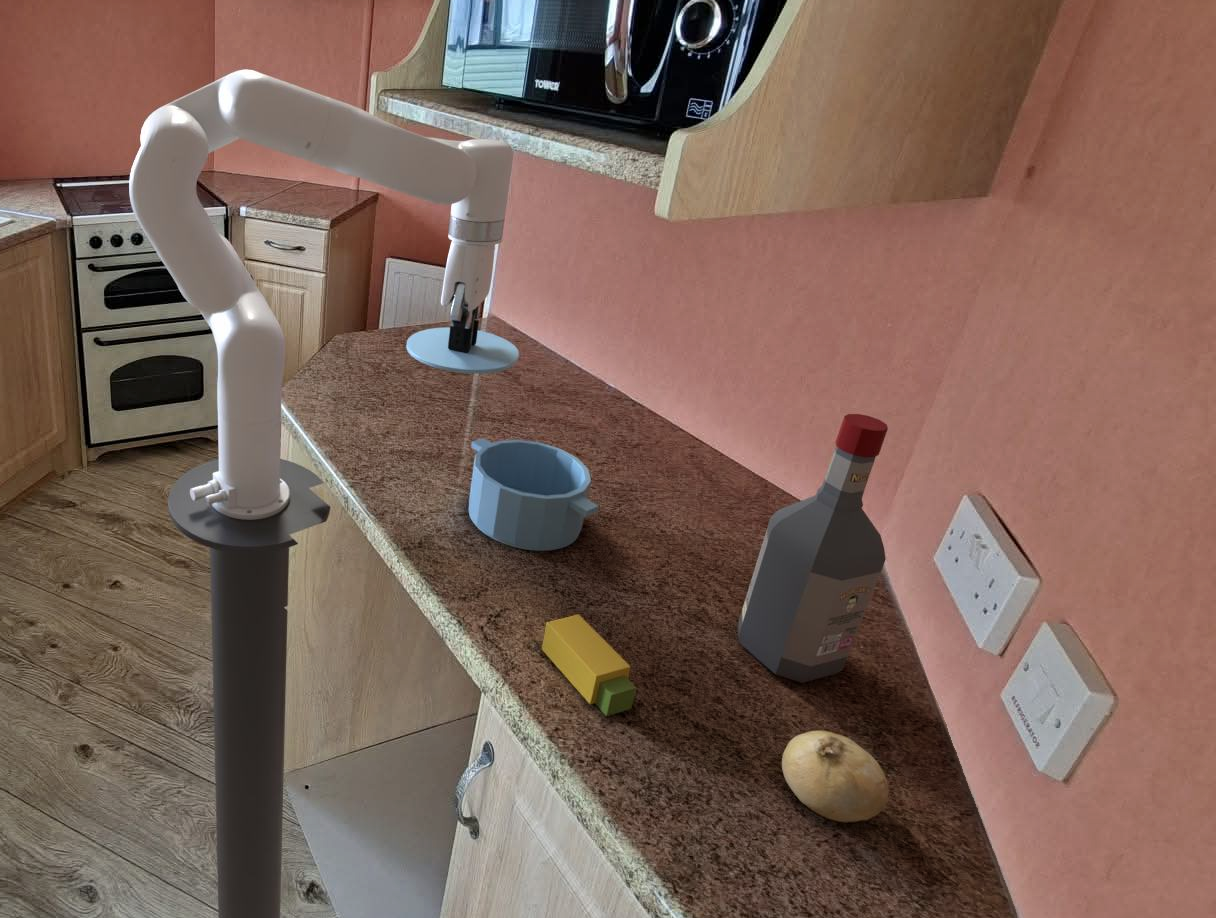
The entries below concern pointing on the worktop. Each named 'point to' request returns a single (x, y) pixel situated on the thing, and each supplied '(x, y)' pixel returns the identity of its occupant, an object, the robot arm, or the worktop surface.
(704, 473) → the worktop surface
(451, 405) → the worktop surface
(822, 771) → the onion
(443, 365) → the lid
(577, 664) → the corn
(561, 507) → the pot
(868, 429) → the liquor
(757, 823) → the worktop surface
